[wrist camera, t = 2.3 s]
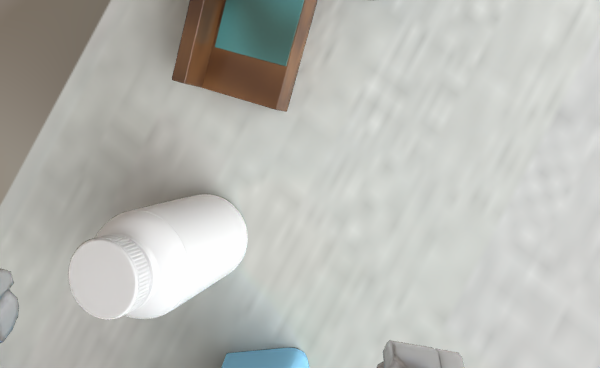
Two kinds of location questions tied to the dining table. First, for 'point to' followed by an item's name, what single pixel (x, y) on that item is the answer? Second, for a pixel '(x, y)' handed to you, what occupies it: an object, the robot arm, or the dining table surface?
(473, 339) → the dining table surface
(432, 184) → the dining table surface
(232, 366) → the vase
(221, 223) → the pill bottle
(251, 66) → the brown tray
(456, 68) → the dining table surface
